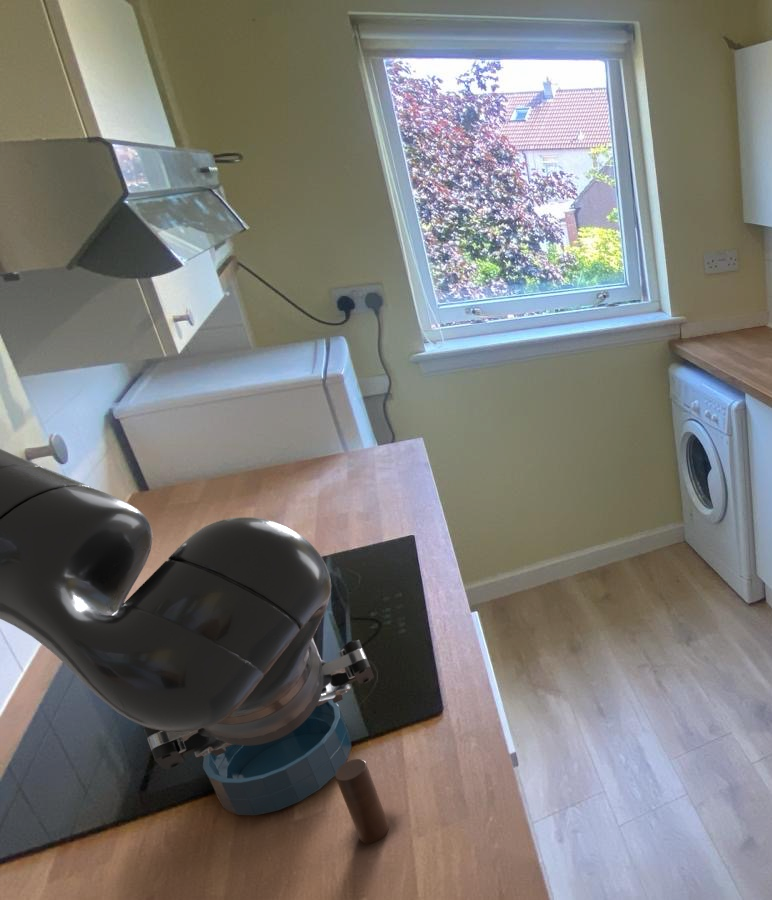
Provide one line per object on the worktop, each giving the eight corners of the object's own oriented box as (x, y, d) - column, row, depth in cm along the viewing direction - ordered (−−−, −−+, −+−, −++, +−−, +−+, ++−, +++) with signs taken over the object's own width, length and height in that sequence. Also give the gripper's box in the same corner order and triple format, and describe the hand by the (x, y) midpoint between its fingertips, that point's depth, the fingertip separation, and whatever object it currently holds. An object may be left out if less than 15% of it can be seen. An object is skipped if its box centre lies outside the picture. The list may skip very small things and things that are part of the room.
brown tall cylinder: (373, 847, 83) (348, 784, 79) (353, 839, 84) (328, 776, 80) (395, 825, 85) (372, 762, 81) (376, 817, 86) (352, 755, 82)
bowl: (274, 833, 85) (256, 797, 82) (193, 798, 90) (174, 763, 87) (377, 743, 97) (365, 709, 94) (301, 716, 102) (288, 683, 99)
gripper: (350, 588, 55) (353, 638, 68) (101, 680, 47) (157, 718, 59) (388, 679, 54) (384, 713, 66) (139, 791, 45) (189, 805, 58)
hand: (277, 715), depth 63 cm, fingers open, 8 cm apart
